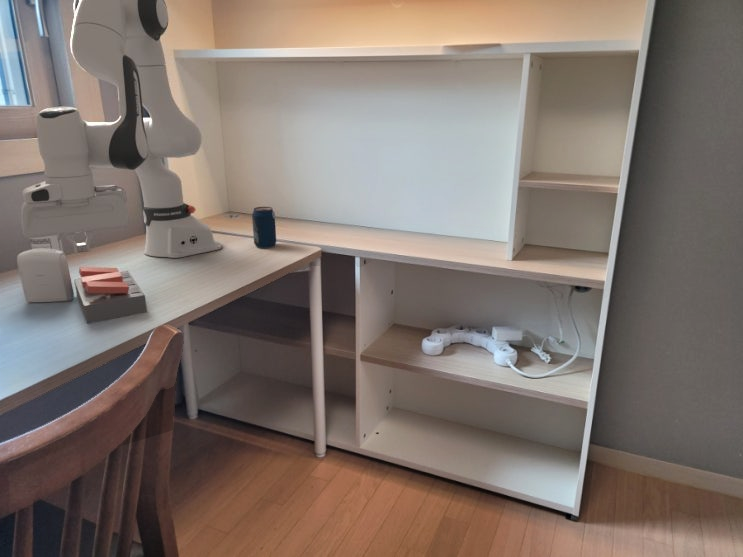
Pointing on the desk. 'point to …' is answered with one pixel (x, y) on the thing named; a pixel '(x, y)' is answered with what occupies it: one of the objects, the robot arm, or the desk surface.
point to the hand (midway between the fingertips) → (82, 251)
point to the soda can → (264, 227)
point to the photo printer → (45, 275)
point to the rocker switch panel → (111, 301)
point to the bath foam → (46, 242)
